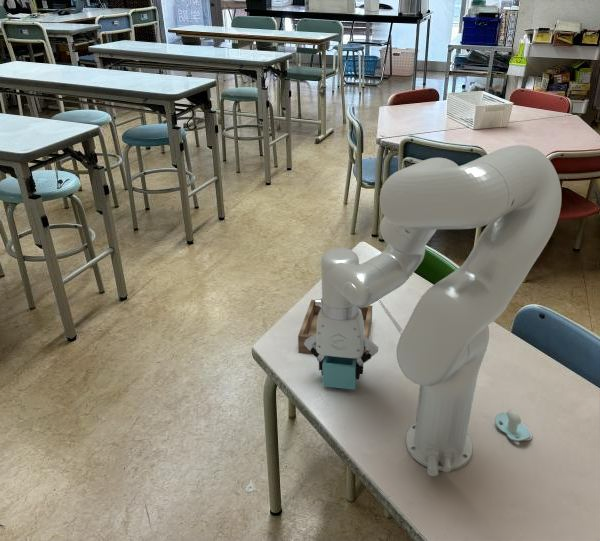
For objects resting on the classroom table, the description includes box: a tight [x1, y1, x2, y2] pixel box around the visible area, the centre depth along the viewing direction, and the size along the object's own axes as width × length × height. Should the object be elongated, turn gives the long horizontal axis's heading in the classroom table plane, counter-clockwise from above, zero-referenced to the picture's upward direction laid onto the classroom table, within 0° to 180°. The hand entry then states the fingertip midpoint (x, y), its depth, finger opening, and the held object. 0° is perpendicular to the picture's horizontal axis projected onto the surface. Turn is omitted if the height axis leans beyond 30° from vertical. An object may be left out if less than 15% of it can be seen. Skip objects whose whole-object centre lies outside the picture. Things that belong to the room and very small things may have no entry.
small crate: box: [322, 356, 358, 391], centre depth 121 cm, size 7×7×6 cm
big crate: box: [297, 299, 374, 355], centre depth 136 cm, size 16×16×5 cm
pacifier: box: [494, 409, 533, 442], centre depth 107 cm, size 7×6×6 cm
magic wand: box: [379, 299, 404, 336], centre depth 146 cm, size 2×25×2 cm
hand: (341, 373), depth 122 cm, fingers closed on small crate, 7 cm apart
